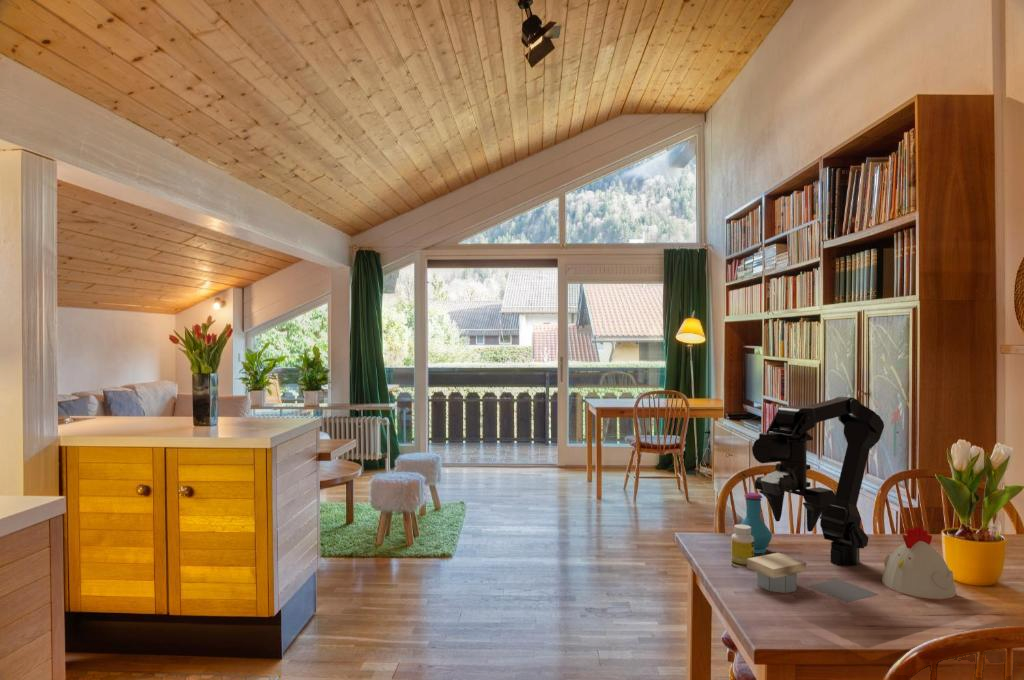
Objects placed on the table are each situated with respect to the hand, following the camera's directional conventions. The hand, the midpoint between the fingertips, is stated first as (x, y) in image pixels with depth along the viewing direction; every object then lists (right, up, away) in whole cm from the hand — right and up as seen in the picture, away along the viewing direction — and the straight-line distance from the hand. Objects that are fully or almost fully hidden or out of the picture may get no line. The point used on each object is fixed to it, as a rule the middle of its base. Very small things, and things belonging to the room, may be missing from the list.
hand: (793, 526), depth 149 cm
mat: (+6, -12, -10) cm, 17 cm away
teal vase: (-1, -13, +21) cm, 25 cm away
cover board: (-7, -7, -8) cm, 13 cm away
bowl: (-7, -12, -8) cm, 16 cm away
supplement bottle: (-9, -13, +9) cm, 18 cm away
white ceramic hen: (+24, -13, -9) cm, 28 cm away
